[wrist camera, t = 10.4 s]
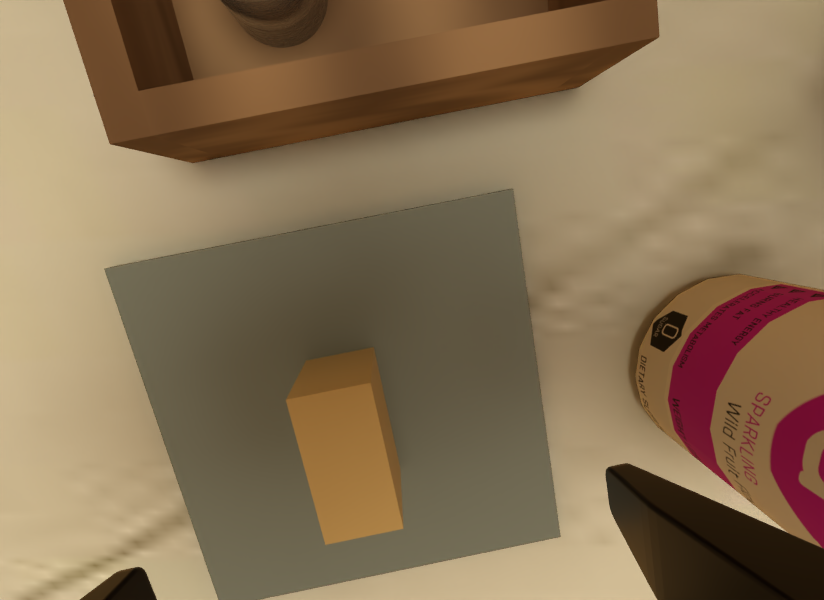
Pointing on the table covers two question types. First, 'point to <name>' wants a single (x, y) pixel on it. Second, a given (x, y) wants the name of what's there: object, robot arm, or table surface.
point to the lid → (348, 395)
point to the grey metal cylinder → (278, 19)
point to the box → (334, 66)
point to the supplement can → (745, 390)
